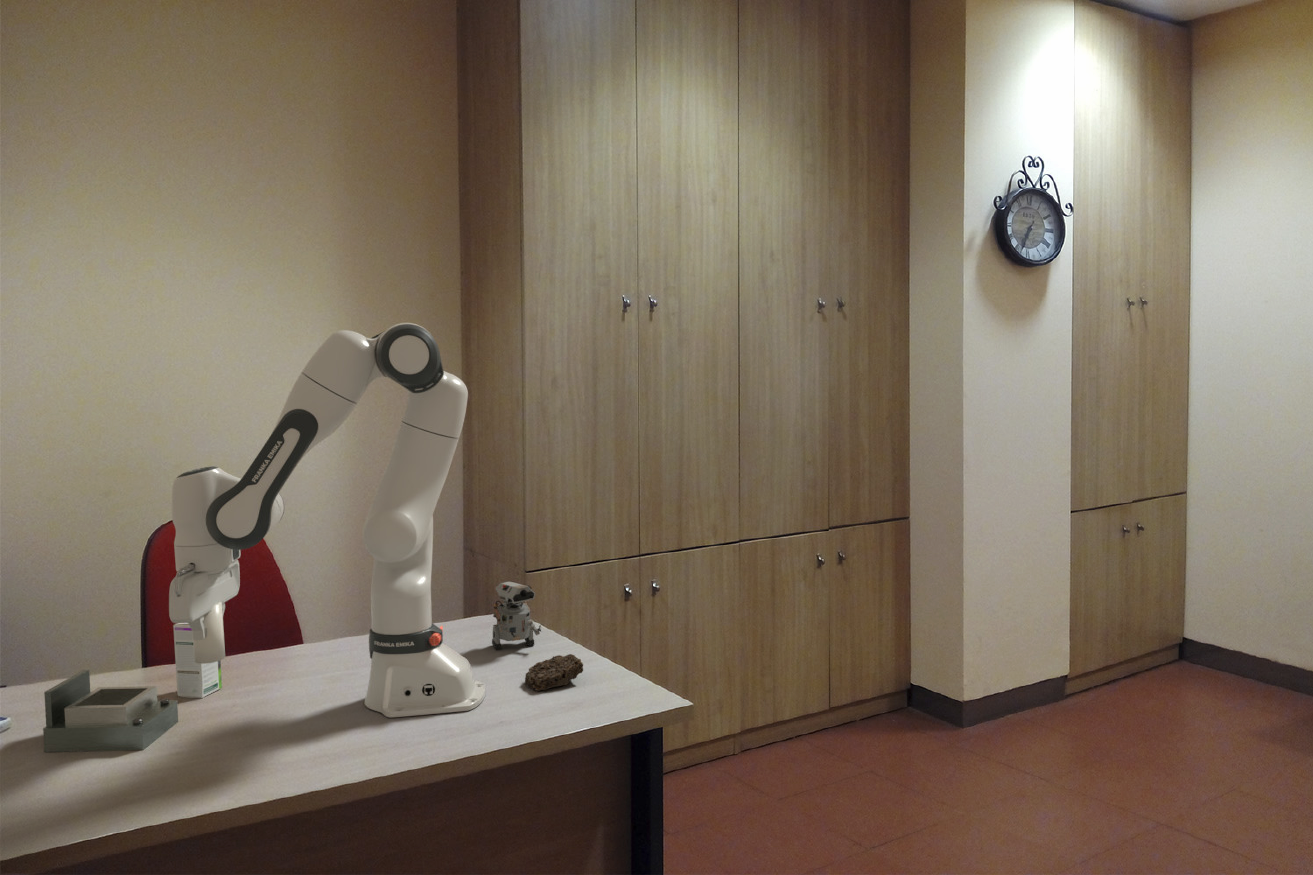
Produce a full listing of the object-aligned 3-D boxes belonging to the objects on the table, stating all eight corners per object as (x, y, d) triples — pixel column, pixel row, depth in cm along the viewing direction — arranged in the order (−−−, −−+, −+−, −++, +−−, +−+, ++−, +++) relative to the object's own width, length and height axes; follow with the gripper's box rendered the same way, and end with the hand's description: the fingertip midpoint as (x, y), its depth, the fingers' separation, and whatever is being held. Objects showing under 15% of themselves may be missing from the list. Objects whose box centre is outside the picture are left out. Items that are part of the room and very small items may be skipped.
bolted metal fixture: (178, 721, 162) (175, 667, 161) (143, 749, 150) (140, 691, 149) (86, 723, 161) (84, 669, 160) (44, 751, 149) (41, 693, 148)
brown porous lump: (572, 671, 189) (572, 648, 188) (587, 687, 179) (587, 662, 179) (519, 678, 184) (518, 654, 184) (531, 695, 175) (531, 669, 175)
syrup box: (202, 698, 173) (199, 624, 172) (175, 696, 174) (172, 623, 173) (222, 688, 179) (219, 616, 178) (196, 686, 180) (193, 615, 179)
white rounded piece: (230, 653, 165) (226, 600, 164) (217, 662, 160) (214, 607, 159) (188, 655, 165) (185, 602, 164) (175, 664, 160) (171, 609, 159)
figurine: (501, 658, 197) (500, 590, 196) (490, 643, 208) (489, 579, 207) (541, 653, 201) (541, 587, 199) (529, 639, 211) (528, 576, 210)
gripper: (194, 570, 151) (199, 651, 152) (244, 546, 171) (249, 617, 172) (155, 571, 150) (161, 652, 151) (210, 547, 171) (215, 618, 172)
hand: (208, 633), depth 162 cm, fingers closed on white rounded piece, 5 cm apart
